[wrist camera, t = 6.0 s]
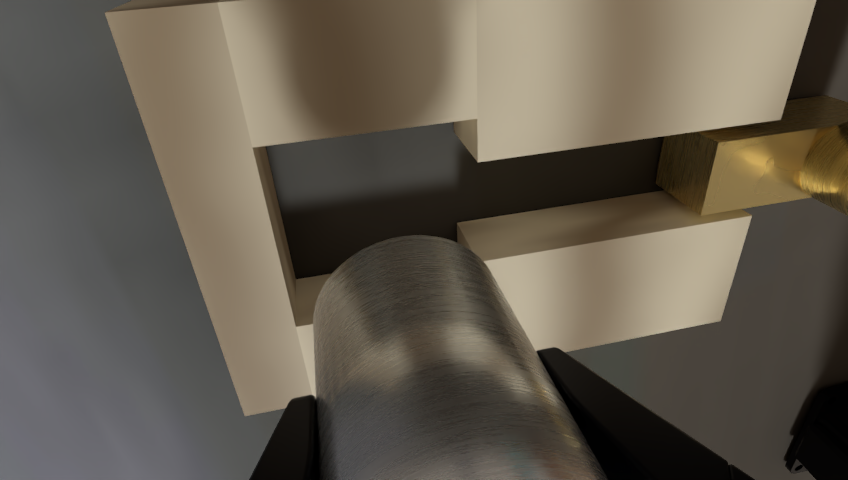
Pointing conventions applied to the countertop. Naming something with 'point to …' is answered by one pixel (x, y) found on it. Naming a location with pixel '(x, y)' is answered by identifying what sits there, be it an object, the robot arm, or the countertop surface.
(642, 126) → the dock
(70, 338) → the countertop surface
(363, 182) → the countertop surface
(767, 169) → the pin
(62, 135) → the countertop surface
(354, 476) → the cylinder
